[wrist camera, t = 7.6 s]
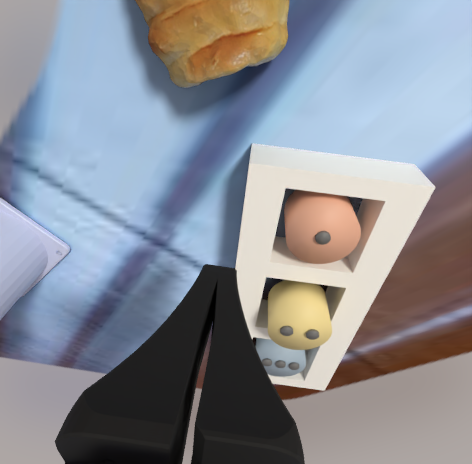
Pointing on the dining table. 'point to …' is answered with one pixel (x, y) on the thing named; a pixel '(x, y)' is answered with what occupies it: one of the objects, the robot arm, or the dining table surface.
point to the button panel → (332, 274)
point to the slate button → (280, 358)
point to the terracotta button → (320, 226)
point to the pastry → (214, 35)
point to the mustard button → (298, 315)
